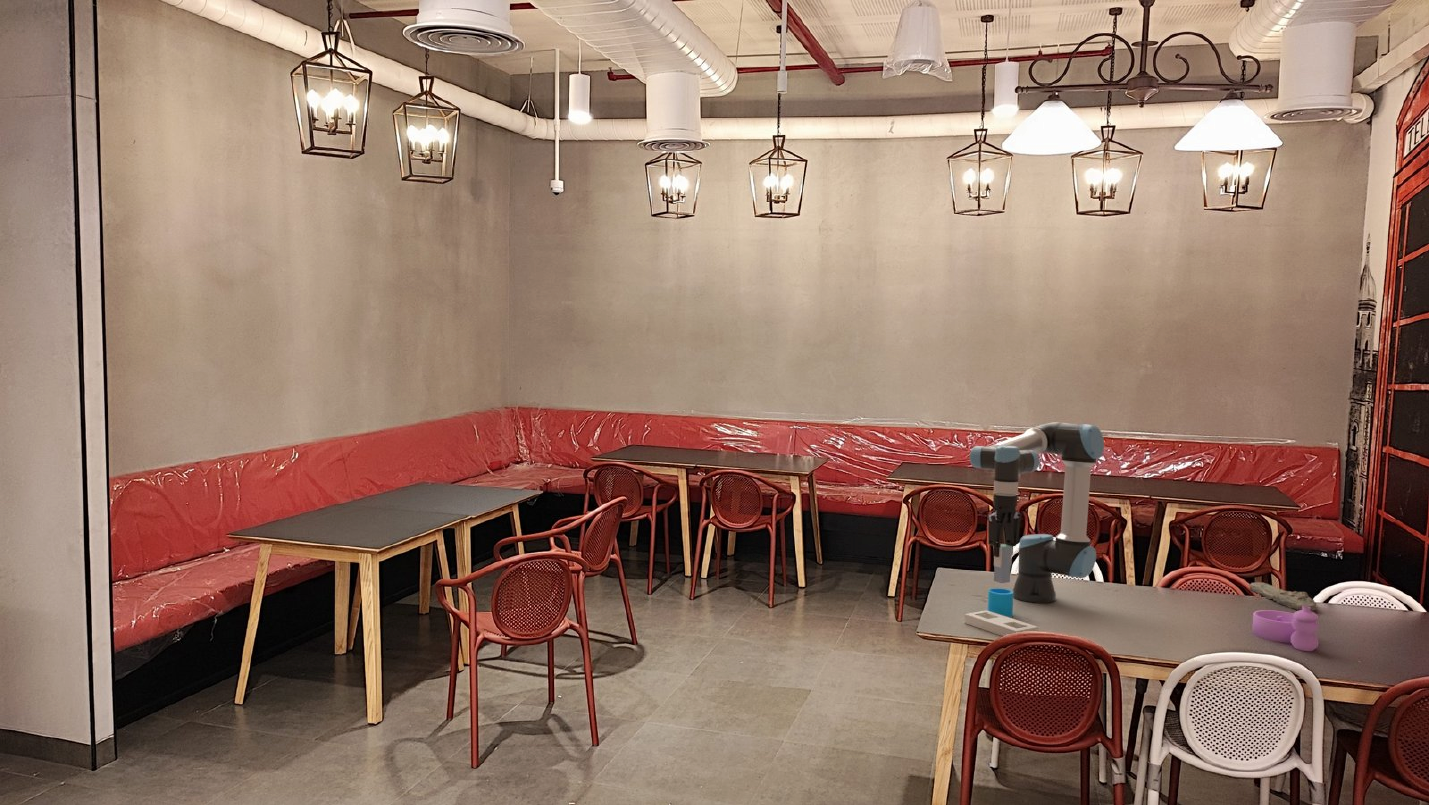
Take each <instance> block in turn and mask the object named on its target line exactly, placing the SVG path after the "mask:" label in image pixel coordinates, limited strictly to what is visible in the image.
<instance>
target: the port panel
mask: <svg viewBox="0 0 1429 805" xmlns="http://www.w3.org/2000/svg"><path fill="white" fill-rule="evenodd" d="M964 624H967V625H970V626H973V627H975V628H979V629H980V630H983V631H987V632H989V633H992V634H995V635H999V636H1000V637H1001V636H1002V637H1004V636H1003V635H1006V634H1012V633H1016V632H1023V631H1038V632H1039V626H1038V625H1033V624H1030V623H1027V622H1024V621H1020V620H1018V619H1015V618H1012V617H1010V618H1009V617H1006V616H1003V615H1000V614H997V613H993V612H990V611H988V609H985V610H980V611H974V612H969V613H965V614H964Z"/></svg>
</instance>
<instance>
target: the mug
mask: <svg viewBox="0 0 1429 805" xmlns="http://www.w3.org/2000/svg"><path fill="white" fill-rule="evenodd" d="M987 593H988V594H987V596H988V598H987V611H990V612H993V613H997V614H1000V615H1003V616H1006V617H1009V618H1012V617H1013V609H1014V608H1013V606H1014V597H1013V590H1011V589H1006V588H998V587H997V588H995V587H994V588H989V589H988V592H987Z"/></svg>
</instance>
